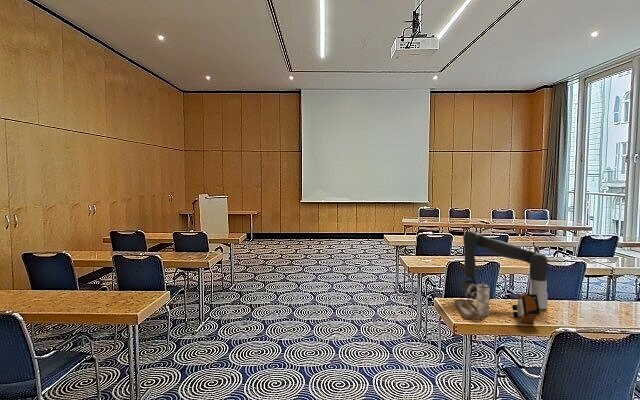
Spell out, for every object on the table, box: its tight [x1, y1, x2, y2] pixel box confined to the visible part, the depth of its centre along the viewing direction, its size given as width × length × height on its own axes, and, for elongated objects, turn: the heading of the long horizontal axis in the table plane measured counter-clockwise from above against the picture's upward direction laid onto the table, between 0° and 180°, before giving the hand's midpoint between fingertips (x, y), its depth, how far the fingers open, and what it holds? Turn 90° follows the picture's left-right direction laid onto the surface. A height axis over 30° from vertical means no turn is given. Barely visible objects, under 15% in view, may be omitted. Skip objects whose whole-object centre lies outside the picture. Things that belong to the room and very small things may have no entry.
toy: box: [511, 293, 541, 324], centre depth 235 cm, size 16×6×20 cm
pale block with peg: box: [475, 282, 490, 317], centre depth 247 cm, size 6×6×18 cm
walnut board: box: [454, 300, 481, 321], centre depth 252 cm, size 8×30×3 cm, turn 173°
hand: (481, 298), depth 250 cm, fingers open, 8 cm apart
